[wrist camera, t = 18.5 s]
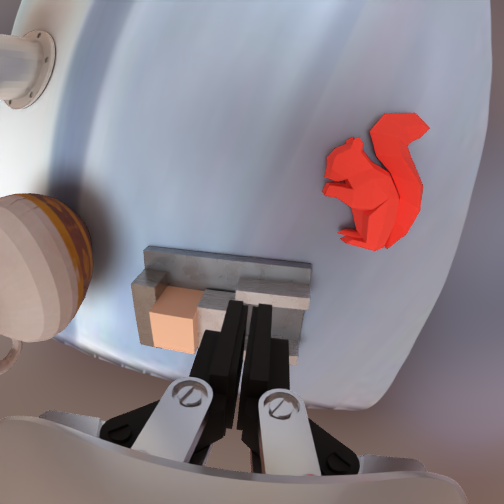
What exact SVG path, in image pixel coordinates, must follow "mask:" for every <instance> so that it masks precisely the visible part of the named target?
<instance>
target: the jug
mask: <svg viewBox="0 0 504 504" xmlns="http://www.w3.org/2000/svg"><path fill="white" fill-rule="evenodd" d="M92 271H93V257H92V245H91V238H90V234H89V231H88V229H87V227H86V225H85V223H84V222H83V221H82V219H81V218H80V217H79V216H78V215H77V214H76V213H75V212H74V211H73V210H71V209H70V208H69V207H67V206H66V205H65V204H63V203H62V202H61V201H59V200H57V199H55V198H52V197H49V196H44V195H39V194H31V193H28V194H13V195H9V196H5V197H1V198H0V334H1V335H4V336H6V337H9V338H11V339H12V340H13V346H12V348H11V350H10V352H9V353H8V355H7V356H6V357H5V358H4V359H3V360H1V361H0V374H2V373H4V372H5V371H7V370H8V369H10V368H11V367H12V365H13V364H14V363H15V362H16V361H17V359H18V357H19V355H20V353H21V350H22V341H24V342H35V341H43V340H48V339H50V338H52V337H53V336H55V335H57V334H58V333H60V332H61V331H63V330H64V329H65V328H66V327H67V325H68V324H69V323H70V322H71V320H72V319H73V318H74V316H75V315H76V313H77V311H78V309H79V307H80V305H81V304H82V302H83V300H84V298H85V295H86V292H87V289H88V286H89V283H90V280H91V277H92Z"/></svg>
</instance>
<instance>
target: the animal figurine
mask: <svg viewBox="0 0 504 504" xmlns="http://www.w3.org/2000/svg"><path fill="white" fill-rule="evenodd" d="M429 129H430V128H429V127H428V125H427V124H426V123H425V122H424V121H423V120H422V119H421V118H420V117H419V116H418V115H417V114H416V113H395V114H384V115H383V116H382V117H381V119H380V120H379V121H378V122H377V123H376V125H375V126H374V127H373V128H372V129H371V131H370V135H371V138H372V142H373V145H374V149H375V153H376V157H377V158H378V159H379V160H380V161H381V162H382V164H383V165H384V166H385V167H386V168H387V169H388V171H389V172H390V173H391V175H392V177H391V175H390V173H389V172H388V171H386V170H384V169H383V168H381V167H380V166H378V165H376V164H375V163H373V162H371V160H370V159H369V158H368V156H367V155H366V154H365V152H364V151H363V150H362V148H363V145H364V144H363V142H362V141H361V139H360V137H358V138H356V139H354V137H352V138H350V139H348V140H347V141H346V144H345V145H342V146H339V147H337V148H335V149H334V150H333V151H332V152H331V153H330V154H329V155H328V156H327V168H326V172H325V175H324V177H326V178H328V179H331V180H334V181H336V182H327V183H326V184H325V186H324V188H323V191H322V192H323V193H325V194H324V195H325V196H330V197H335V198H338V199H339V200H341V201H342V202H344V203H345V204H347V205H348V206H350V207H351V208H352V213H353V217H354V221H355V226H356V229H347V228H346V229H343V230H341V231H339V232H338V234H342V235H346V236H345V237H343V238H340V239H341V240H342V241H344V242H345V243H347V244H351V245H355V246H358V247H362V248H365V249H369V250H373V251H376V250H378V249H381V248H383V247H384V246H385V247H386V248H387V249H388V248H389V247H390V246H392V245H393V244H394V243H395V242H397V241H398V240H399V239H400V238H402V237H403V236H405V235H406V234H407V233H408V231H409V229H410V227H411V226H412V224H413V222H414V220H415V219H416V217H417V215H418V213H419V212H420V205H421V199H422V192H423V184H422V182H421V179H420V177H419V174H418V172H417V170H416V167H415V165H414V163H413V160H412V158H411V155H410V152H409V149H408V145H409V144H410V142H412V141H414V140H416V139H419V138H420V137H421V136H423V135H424V134H425V133H426V132H427V131H428V130H429ZM392 178H393V180H394V182H393V180H392ZM342 180H344V183H343V182H338V181H342ZM394 183H395V184H394ZM395 185H396V187H395ZM396 188H397V189H396ZM397 190H398V192H397ZM398 193H399V194H398ZM399 195H400V200H399ZM398 204H399V205H398Z"/></svg>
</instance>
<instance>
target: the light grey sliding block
mask: <svg viewBox="0 0 504 504" xmlns="http://www.w3.org/2000/svg"><path fill="white" fill-rule="evenodd" d="M235 296H236V293H231V292H223V291H216V290H208V289H205V291H204V293H203V295H202V298H201V300H200V302H199V304H198V306H197V328H198V348H199V346H200V343H201V340H202V337H203V334H204V331H205V330H213V331H220V332H221V328H222V325H223V321H224V317H225V314H226V310H227V306H228V303H229V300H235ZM243 305H246V303H243Z"/></svg>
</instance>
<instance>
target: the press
mask: <svg viewBox="0 0 504 504" xmlns="http://www.w3.org/2000/svg"><path fill="white" fill-rule="evenodd" d="M143 251H144V263H145V269H144V270H143V272H142V273H141V274H140V275H139V276H138V277H137V278H136V279H135V280H134V281H133V282H132V283H131V288H132V295H133V302H134V308H135V315H136V321H137V327H138V332H139V338H140V343H141V344H143V345H147V346H152V347H155V346H154V342H153V335H152V329H151V322H150V314H149V311H150V310H151V309H152V307H153V306H154V304H155V303H156V302H157V300H158V299H159V297H160V296H161V295H162V293H163V292H164V290H165V289H166V288H167V286H172V287H179V288H186V289H193V290H201V291H205V289H208V290H216V291H223V292H231V293H236V296H235V300H236V301H243V303H246V305H247V306H248V315H247V325H246V335H245V345H244V355H243V359H244V360H245V355H246V348H247V342H248V335H249V328H250V321H251V315H252V308H253V306H255V307H258V305H259V303H261V304H270V305H272V326H271V338H278V339H288V340H289V364H290V365H297V361H298V340H299V335H300V330H301V325H302V320H303V314H304V310H308V308H309V303H310V291H309V281H310V275H311V264H310V263H301V262H291V261H282V260H273V259H263V258H254V257H245V256H235V255H226V254H217V253H208V252H199V251H190V250H181V249H172V248H163V247H154V246H148V247H147V248H146V249H144V250H143ZM156 348H160V347H156ZM197 348H198V347H197ZM161 349H162V348H161Z"/></svg>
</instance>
